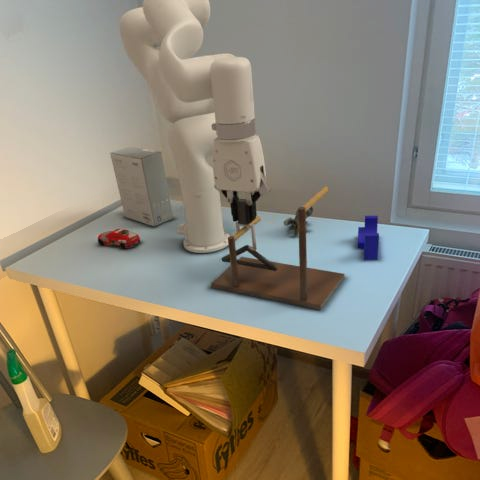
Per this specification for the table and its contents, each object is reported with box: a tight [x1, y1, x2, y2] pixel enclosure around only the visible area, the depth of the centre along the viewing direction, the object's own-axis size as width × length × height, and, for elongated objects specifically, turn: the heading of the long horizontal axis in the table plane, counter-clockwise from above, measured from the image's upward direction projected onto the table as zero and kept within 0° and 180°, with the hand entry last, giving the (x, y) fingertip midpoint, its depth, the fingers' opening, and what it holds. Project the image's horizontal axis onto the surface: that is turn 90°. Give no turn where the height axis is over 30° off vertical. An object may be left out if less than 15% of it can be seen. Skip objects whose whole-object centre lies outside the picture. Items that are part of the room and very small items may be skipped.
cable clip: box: [357, 215, 380, 261], centre depth 117 cm, size 12×4×6 cm, turn 168°
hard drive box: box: [109, 146, 174, 227], centre depth 145 cm, size 16×8×20 cm, turn 46°
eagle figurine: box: [283, 206, 314, 237], centre depth 130 cm, size 8×7×9 cm
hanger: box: [221, 198, 277, 271], centre depth 106 cm, size 14×2×15 cm, turn 60°
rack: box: [210, 186, 345, 311], centre depth 103 cm, size 26×14×21 cm, turn 60°
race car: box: [97, 228, 141, 250], centre depth 135 cm, size 13×5×4 cm, turn 60°
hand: (244, 219), depth 104 cm, fingers closed on hanger, 2 cm apart
